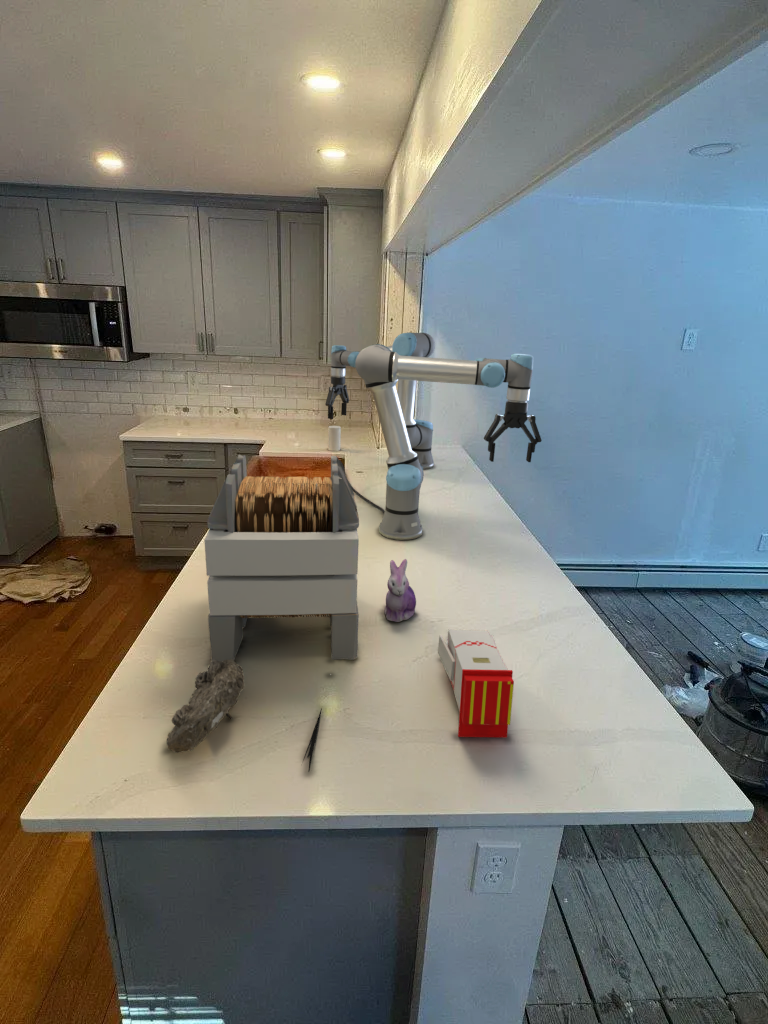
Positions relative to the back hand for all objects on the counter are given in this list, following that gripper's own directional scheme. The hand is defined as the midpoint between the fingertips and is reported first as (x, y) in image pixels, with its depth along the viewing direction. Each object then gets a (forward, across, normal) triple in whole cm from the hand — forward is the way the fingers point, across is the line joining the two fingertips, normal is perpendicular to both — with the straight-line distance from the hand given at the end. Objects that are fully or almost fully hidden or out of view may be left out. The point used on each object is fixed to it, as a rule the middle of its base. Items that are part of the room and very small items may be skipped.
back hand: (337, 416), depth 302 cm
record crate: (+18, +158, +83) cm, 179 cm away
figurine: (+17, +139, +105) cm, 175 cm away
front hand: (-8, +63, +110) cm, 127 cm away
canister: (+19, -3, -3) cm, 20 cm away
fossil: (+17, +193, +91) cm, 214 cm away
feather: (+17, +183, +109) cm, 214 cm away
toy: (+17, +161, +131) cm, 208 cm away
